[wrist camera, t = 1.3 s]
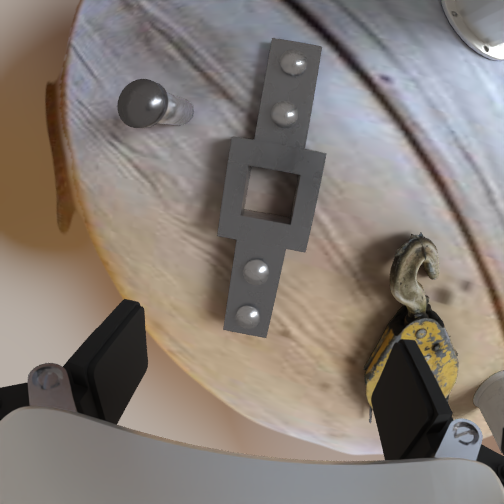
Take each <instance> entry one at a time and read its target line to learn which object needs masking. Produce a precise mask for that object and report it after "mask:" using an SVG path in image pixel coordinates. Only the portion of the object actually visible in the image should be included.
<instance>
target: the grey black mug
mask: <svg viewBox="0 0 504 504" xmlns="http://www.w3.org/2000/svg"><path fill="white" fill-rule="evenodd" d="M473 403H474V405H475V406H477V407H478V408H479V409H480V411H481V413H482V414H483V416H484V418H485V420H486V422H487V424H488V426H489V428H490V430H491V432H492V434H493V436H494V438H495V440H496V442H497V444H498V446H499V449H500V451H501V453H503V455H504V370H503V371H499V372H497V373H495V374H493V375H492V376H490V377H489V378H488V379H487V380H485V381H484V382H483V383H482V384H481V386H480V387H479V388H478V390H477V391H476V393H475V395H474V398H473Z"/></svg>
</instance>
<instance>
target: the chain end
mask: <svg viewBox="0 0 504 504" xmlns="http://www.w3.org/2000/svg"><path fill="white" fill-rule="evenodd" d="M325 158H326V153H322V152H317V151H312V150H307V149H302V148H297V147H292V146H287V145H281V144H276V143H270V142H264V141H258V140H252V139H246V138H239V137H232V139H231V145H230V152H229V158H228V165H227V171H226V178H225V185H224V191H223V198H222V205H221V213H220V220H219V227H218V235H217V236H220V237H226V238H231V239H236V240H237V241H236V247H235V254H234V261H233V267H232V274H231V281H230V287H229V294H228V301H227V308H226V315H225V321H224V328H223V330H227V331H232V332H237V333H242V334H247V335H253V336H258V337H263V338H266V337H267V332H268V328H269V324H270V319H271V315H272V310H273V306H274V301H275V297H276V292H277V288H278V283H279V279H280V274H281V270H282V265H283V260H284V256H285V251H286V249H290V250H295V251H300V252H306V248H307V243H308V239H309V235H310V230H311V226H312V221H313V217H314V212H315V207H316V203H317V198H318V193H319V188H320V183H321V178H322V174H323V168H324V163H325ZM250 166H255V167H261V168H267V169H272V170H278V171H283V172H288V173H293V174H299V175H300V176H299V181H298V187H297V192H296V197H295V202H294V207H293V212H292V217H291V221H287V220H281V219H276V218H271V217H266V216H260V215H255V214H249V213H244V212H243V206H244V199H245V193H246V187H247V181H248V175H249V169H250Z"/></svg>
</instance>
